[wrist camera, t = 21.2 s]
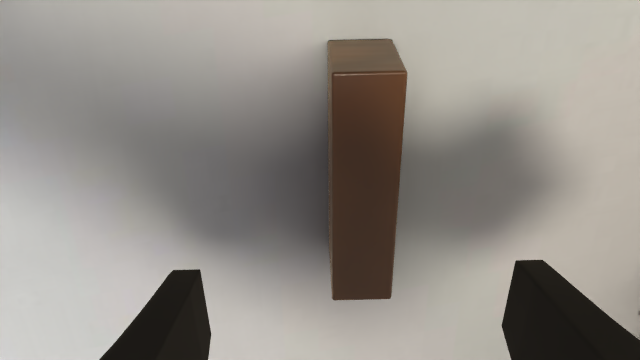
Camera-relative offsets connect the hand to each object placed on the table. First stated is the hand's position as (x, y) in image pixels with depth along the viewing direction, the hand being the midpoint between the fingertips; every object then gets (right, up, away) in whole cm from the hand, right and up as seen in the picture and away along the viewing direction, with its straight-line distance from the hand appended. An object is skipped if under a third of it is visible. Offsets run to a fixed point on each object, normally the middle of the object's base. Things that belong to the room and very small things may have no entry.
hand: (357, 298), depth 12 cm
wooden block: (0, +4, +6) cm, 7 cm away
